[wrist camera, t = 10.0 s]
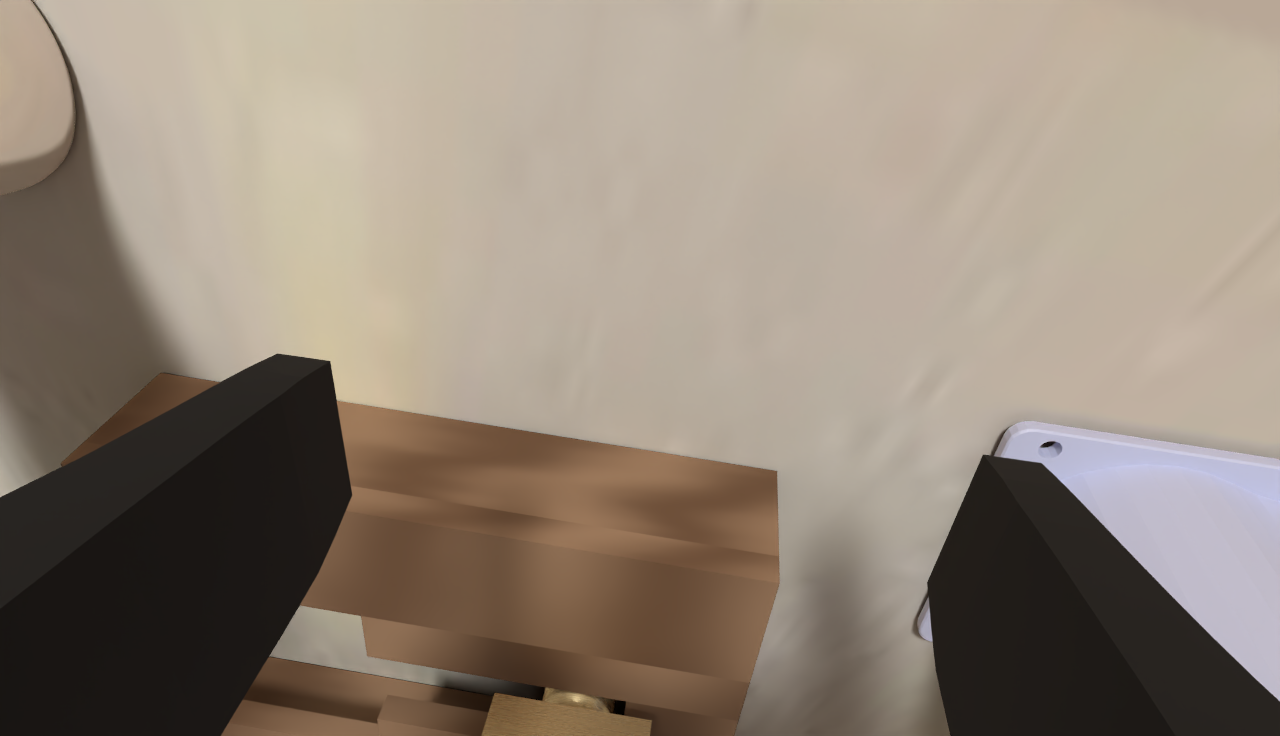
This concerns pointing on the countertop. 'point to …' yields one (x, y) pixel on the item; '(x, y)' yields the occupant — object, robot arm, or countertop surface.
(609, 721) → the brass peg
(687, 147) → the countertop surface
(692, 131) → the countertop surface
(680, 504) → the keyhole board
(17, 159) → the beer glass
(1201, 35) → the countertop surface
